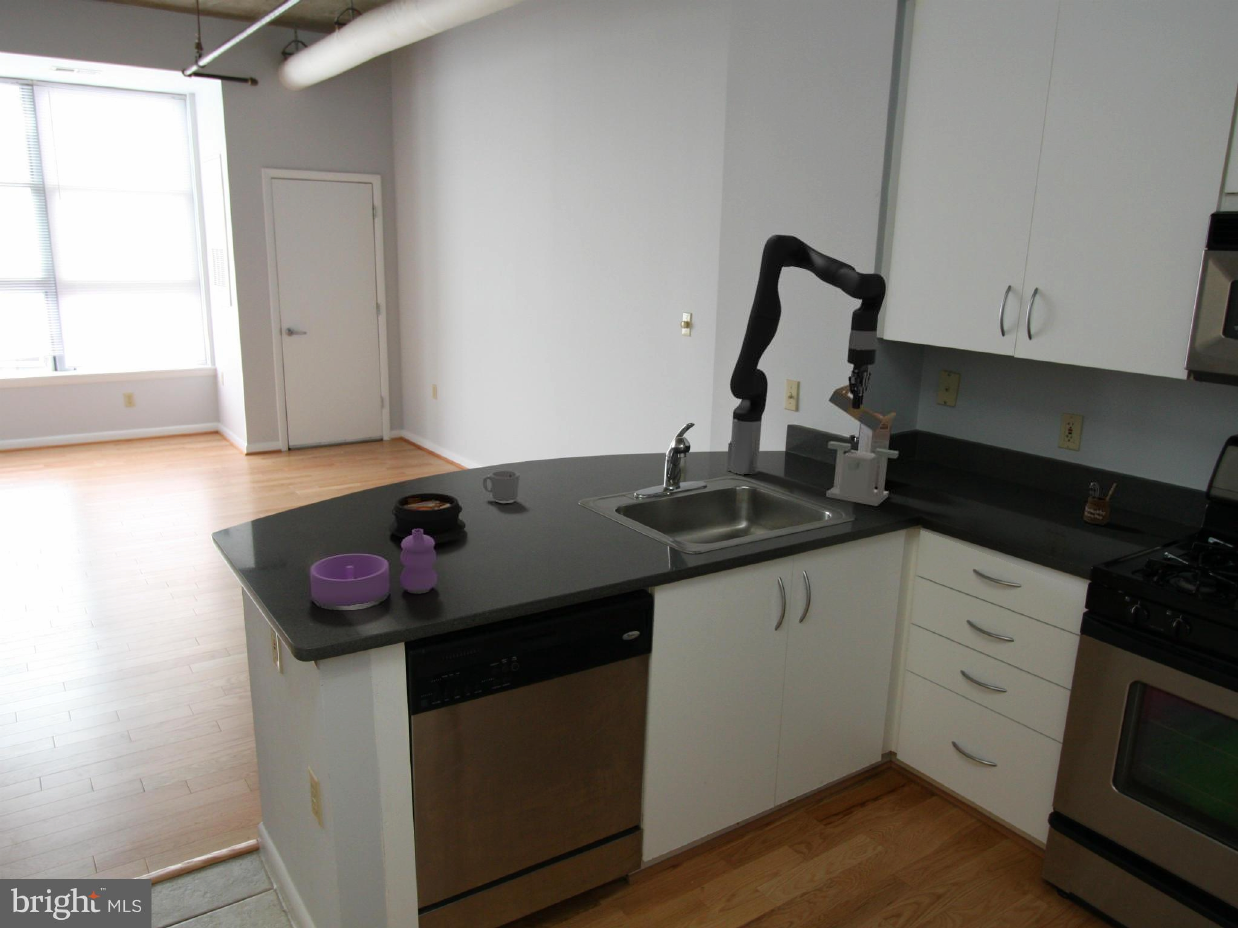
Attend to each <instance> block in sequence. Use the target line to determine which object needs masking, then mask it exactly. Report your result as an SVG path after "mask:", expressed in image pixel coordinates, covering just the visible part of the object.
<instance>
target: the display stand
mask: <svg viewBox="0 0 1238 928" xmlns="http://www.w3.org/2000/svg"><path fill="white" fill-rule="evenodd" d="M851 448H852V444H851V443H845V442H839V441H828V443H827V449H832V450H837V451H836V460H835V461H836V462H835V471H834V482H833V487H831V488H830V489H829V490H827V491H826V495H825V497H827V498H831V499H838V500H840V501H841V500H843V501H847V502H852V503H858V504H865V505H869V506H875V507H877V506H879V505H880V504H881V503H882V502H883V501H884V500H886V499H887V498H888V497H889V491H886V490H885V483H886V473H887V466H888V458H891V459H897V458H898V457H899V454H900V453H899V450H893V449H892V450H890V449H888V450H886V449H879V448H878V449H876V450H875V454H873V453H867V452H860V451H858V450H853V449H851ZM844 452H846V453H845V454H844ZM878 456H881V462H880V471H879V480H878V487H877V489H876V487H875V479H876V470H877V461H878Z"/></svg>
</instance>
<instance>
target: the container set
mask: <svg viewBox="0 0 1238 928" xmlns="http://www.w3.org/2000/svg"><path fill="white" fill-rule="evenodd" d="M435 544H436V543H435V542H434V540H433V539H432V538H431V537H429V536H427V535H423V530H422V529H414V530H412V535H411V536H408V537H406V538H403V539H402V541H401V543H400V546H401V548H402V550H401V553H400V558H399V559H400V562H401V563H402V565H403V566H405V568H403V570H402V572H401V574H400V585H401V586H402V588H403V587H404V588H405V589H408V590H425V589H429V588H431V587H433V586H434V587H435V586H436V585H437V582H438V575H437V571H436V570H435V568H434V567H433V564H434V563H435V561H436V559H437V552H436V551H435V549H434V547H435ZM389 566H390V564H389V562H388V560H386V559H385V558H383V557H381V556H378V555H374V554H369V553H347V554H345V553H344V554H339V555H333V556H329V557H326V558H323V559H321V560H318V561H316V562H315V563H314V564H312V565H311V567H310V568H309V575H310V592H311V595H312V596H311V598H312V597H313V598H314V599H315V600H317V601H319V602H320V603H324V604H330V605H334V606H351V605H356V604H364V603H368V602H371V601H374V600H377V599H378V598H381V597H383V595H385V594H387V592H388V591H389V588H390V567H389ZM354 578H357V579H354ZM345 579H347V580H345ZM435 584H436V585H435ZM434 587H433V588H434ZM404 588H403V589H404ZM405 589H404V590H405Z"/></svg>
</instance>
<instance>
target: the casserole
mask: <svg viewBox="0 0 1238 928" xmlns="http://www.w3.org/2000/svg"><path fill="white" fill-rule="evenodd" d="M462 511H463V506H461V505H460V503H459V500H458V499H457V498H456V497H455V496H452V495H449V494H444V493H437V492H436V493H435V492H434V493H433V492H430V493H429V492H426V493H415V494H410V495H405V496H402V497H400V498H398V499H396V501H395V504H394V506H393V508H392V509H391V514H392V515H393V516H394V519H393V522H391V524H389V526H388V531H389V532H390V533H392V534H393V535H395V536H398V537H400V538H403V539H405V538H406V537H408V536H411V535H412V530H414V529H422V530H423V535H427V536H429V537H431V538H432V539H433V540H434V542H435V544H442V543H448V542H452V541H456V540H459V539H461V538H462V537H463V533H464V530H465V529H466V526H467V525H466V523H465V521H463V519H461V518H459V517H460V513H462Z"/></svg>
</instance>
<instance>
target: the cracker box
mask: <svg viewBox="0 0 1238 928" xmlns="http://www.w3.org/2000/svg"><path fill="white" fill-rule="evenodd" d="M874 413H875V412H874ZM875 414H876V415H878V416H879V417H881V418H883V417H884V416H883V415H882V414H880V413H877V412H876V413H875ZM885 423H886V422H884V423H882V425H881V426H880V428H879V429H878V431H877V432H876V433H875V432H874V431H872V430H871V429H869V428H868V427H866V426H865V425H863V424H862V423H860V429H859V439H858V446H857V447H858V449H857V451H860V452H867V453H873V454H875V450H876V449H878V448H879V449H886V450H889V445H890V444H889V443H890V437H891V431H892V430H891V429H892V422H891V423H890V424H889V425H886V424H885ZM880 462H881V456H878V461H877V470H876V479H875V488H878V480H879V471H880Z"/></svg>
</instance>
